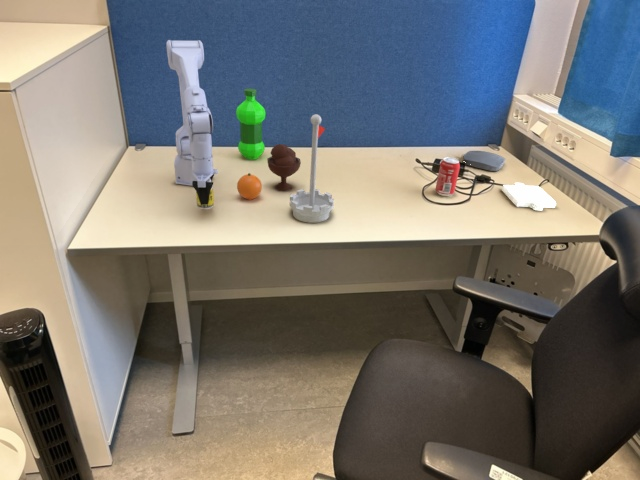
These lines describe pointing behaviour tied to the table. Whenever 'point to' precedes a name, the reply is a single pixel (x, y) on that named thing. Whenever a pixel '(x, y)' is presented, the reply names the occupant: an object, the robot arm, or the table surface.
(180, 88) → the robot arm
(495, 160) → the media streaming box
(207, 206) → the supplement bottle
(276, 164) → the ice cream bowl
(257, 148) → the plastic bottle
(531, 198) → the mounting plate
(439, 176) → the beverage can
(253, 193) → the orange
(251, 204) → the table surface
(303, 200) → the flag stand
